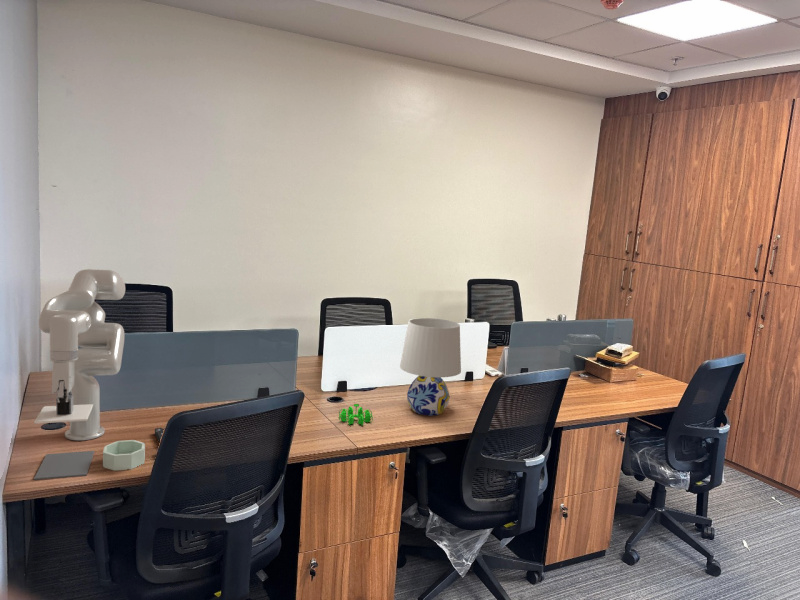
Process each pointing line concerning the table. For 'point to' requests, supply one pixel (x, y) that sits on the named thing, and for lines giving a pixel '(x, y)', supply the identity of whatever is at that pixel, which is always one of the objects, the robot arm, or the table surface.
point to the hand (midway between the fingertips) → (65, 410)
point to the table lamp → (431, 362)
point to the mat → (65, 465)
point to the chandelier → (351, 416)
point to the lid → (76, 414)
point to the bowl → (124, 455)
